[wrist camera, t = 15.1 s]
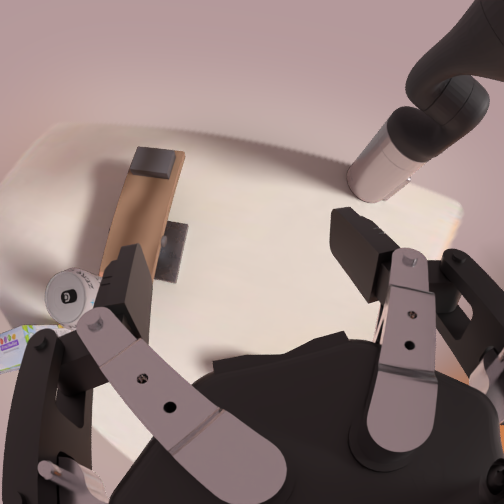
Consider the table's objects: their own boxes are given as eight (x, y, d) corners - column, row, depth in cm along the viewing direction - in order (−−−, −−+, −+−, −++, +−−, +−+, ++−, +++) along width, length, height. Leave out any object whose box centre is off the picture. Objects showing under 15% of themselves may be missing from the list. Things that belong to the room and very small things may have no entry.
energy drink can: (96, 289, 37) (37, 271, 22) (134, 280, 38) (86, 258, 23) (104, 331, 36) (45, 334, 21) (142, 324, 37) (97, 325, 22)
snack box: (8, 374, 40) (-39, 382, 25) (0, 348, 40) (-47, 351, 26) (80, 351, 43) (33, 360, 28) (70, 321, 44) (21, 320, 29)
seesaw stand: (188, 226, 50) (183, 213, 44) (176, 283, 47) (169, 278, 41) (125, 215, 49) (114, 202, 43) (111, 269, 47) (97, 262, 41)
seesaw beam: (188, 159, 45) (185, 145, 41) (147, 338, 39) (139, 340, 34) (138, 153, 45) (132, 139, 41) (93, 323, 38) (80, 323, 34)
